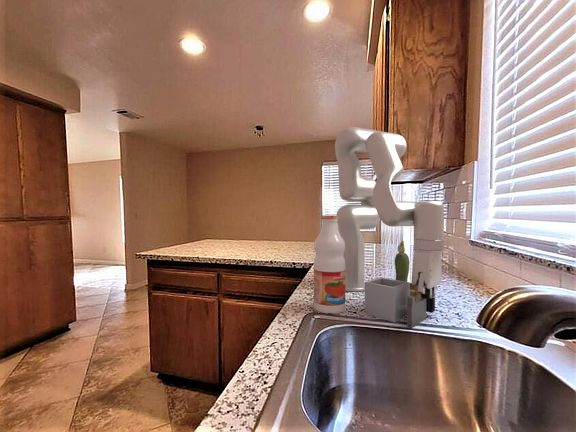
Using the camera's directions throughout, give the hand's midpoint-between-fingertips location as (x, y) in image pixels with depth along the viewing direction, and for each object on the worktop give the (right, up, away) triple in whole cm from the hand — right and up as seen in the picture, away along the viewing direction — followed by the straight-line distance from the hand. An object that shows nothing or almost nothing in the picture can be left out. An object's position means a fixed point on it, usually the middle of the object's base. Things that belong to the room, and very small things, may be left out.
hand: (427, 310), depth 80 cm
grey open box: (-11, -1, +1) cm, 11 cm away
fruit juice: (-27, -2, +6) cm, 27 cm away
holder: (-3, -1, +10) cm, 11 cm away
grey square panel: (-5, -1, -5) cm, 8 cm away
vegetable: (-3, -1, +10) cm, 11 cm away
